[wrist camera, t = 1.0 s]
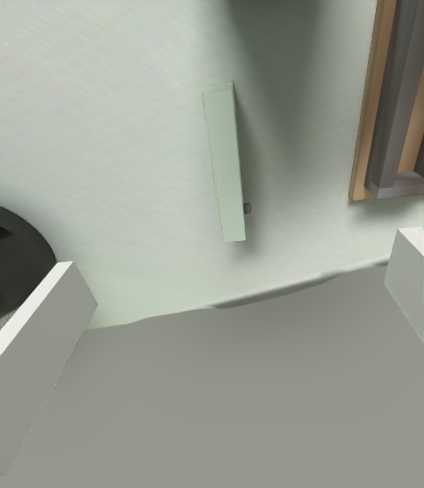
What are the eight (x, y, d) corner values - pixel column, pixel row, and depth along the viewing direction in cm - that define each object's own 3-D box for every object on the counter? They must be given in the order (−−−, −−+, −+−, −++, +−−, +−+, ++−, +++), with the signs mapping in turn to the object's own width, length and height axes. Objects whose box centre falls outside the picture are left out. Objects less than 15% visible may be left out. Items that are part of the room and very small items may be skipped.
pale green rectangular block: (225, 207, 30) (223, 242, 25) (210, 84, 24) (202, 93, 18) (250, 204, 30) (253, 239, 24) (240, 79, 23) (242, 87, 18)
